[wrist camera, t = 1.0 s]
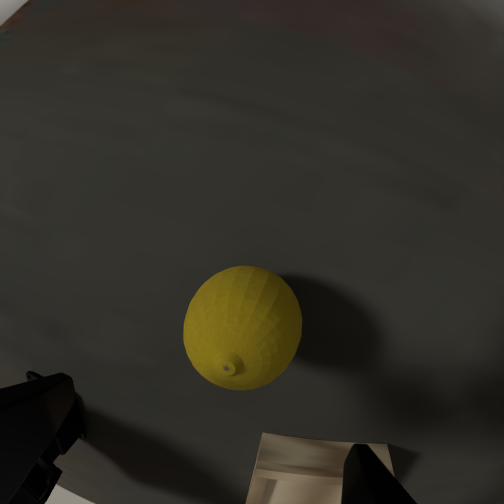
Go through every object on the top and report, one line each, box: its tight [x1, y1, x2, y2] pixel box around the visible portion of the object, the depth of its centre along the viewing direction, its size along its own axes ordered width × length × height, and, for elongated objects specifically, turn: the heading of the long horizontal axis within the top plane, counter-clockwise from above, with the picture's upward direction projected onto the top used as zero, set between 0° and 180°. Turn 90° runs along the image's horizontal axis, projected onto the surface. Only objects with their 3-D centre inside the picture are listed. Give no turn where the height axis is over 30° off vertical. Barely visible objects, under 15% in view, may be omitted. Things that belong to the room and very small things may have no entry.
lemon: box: [184, 266, 302, 390], centre depth 15 cm, size 6×6×8 cm
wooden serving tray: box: [246, 432, 394, 504], centre depth 20 cm, size 10×10×4 cm
